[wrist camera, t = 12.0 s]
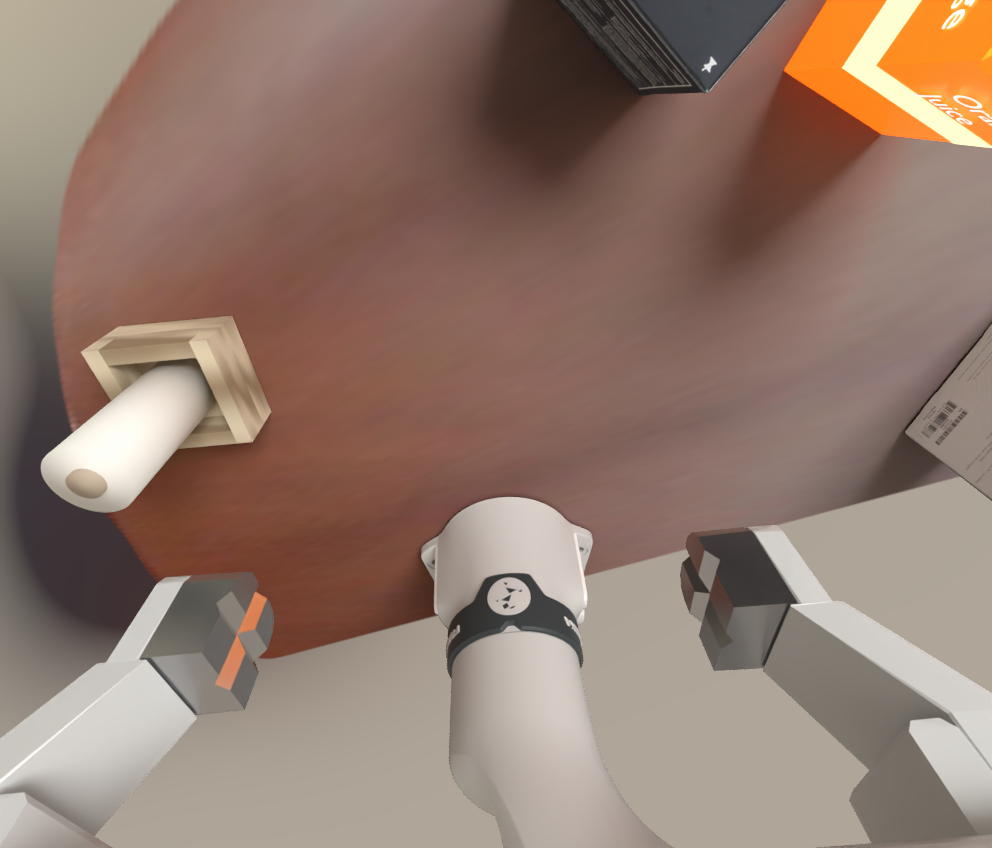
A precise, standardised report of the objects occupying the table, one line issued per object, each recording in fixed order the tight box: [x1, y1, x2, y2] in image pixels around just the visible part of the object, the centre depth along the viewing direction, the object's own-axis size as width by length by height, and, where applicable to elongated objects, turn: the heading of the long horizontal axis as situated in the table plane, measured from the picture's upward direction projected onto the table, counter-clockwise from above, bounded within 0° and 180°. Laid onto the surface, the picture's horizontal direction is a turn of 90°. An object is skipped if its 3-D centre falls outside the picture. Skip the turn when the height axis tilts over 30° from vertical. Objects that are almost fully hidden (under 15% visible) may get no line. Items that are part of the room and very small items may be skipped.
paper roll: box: [41, 358, 217, 512], centre depth 34 cm, size 5×5×12 cm
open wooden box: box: [81, 316, 271, 449], centre depth 39 cm, size 9×9×4 cm
